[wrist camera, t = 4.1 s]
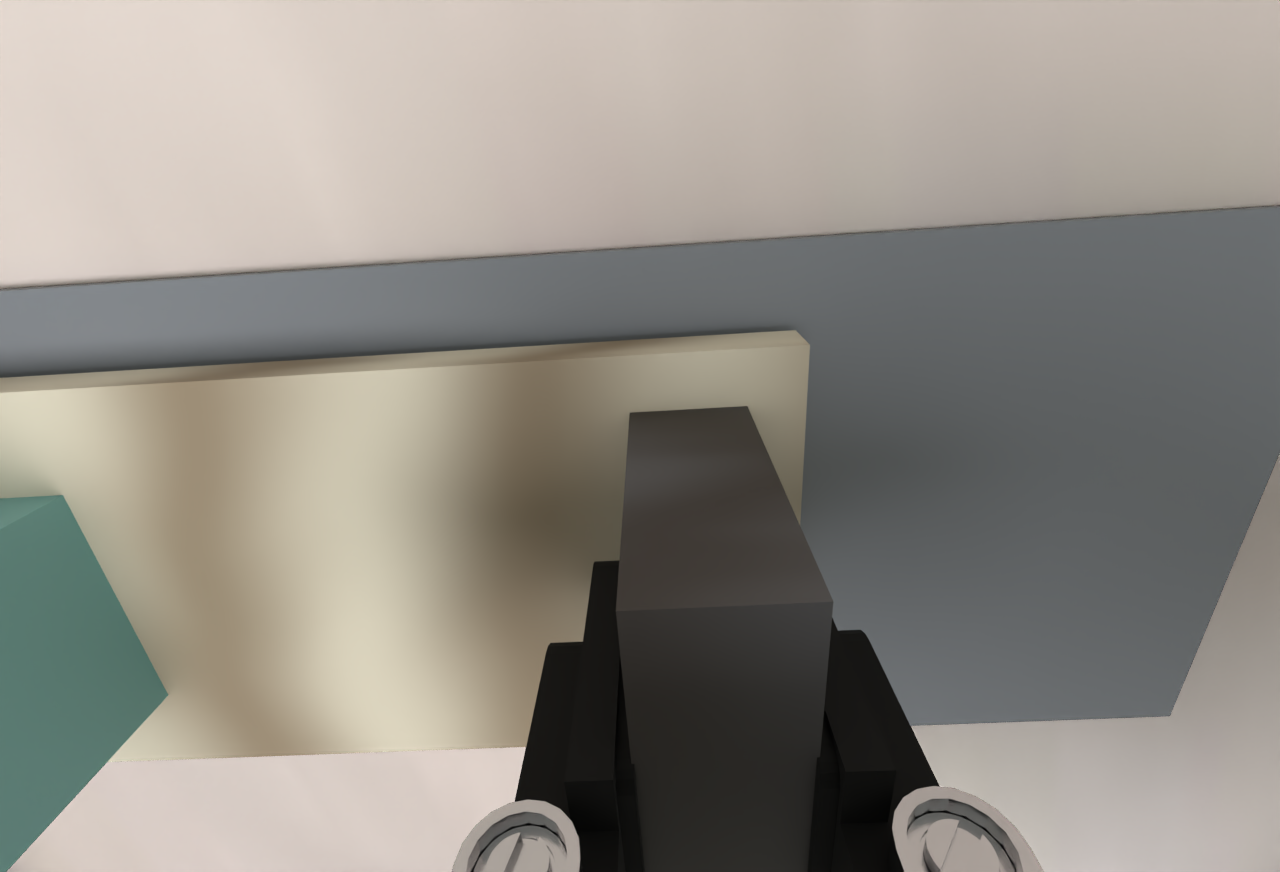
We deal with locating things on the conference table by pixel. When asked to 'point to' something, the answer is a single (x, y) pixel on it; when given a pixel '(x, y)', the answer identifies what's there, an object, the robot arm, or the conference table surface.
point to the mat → (877, 414)
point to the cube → (59, 669)
